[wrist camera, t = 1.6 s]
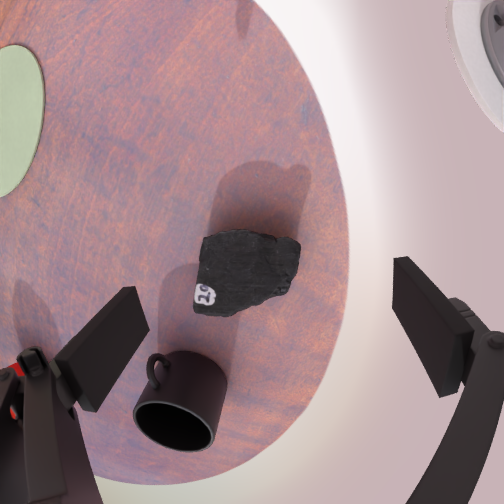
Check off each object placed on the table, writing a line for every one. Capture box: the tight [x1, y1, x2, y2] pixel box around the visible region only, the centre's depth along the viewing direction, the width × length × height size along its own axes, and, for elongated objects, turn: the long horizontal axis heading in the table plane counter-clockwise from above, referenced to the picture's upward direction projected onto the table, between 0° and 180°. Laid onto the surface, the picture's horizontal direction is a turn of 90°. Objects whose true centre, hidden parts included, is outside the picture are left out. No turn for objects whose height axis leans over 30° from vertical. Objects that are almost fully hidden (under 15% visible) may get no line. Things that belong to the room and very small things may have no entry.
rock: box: [193, 229, 301, 317], centre depth 29 cm, size 9×10×6 cm
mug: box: [133, 351, 227, 452], centre depth 33 cm, size 9×12×9 cm
